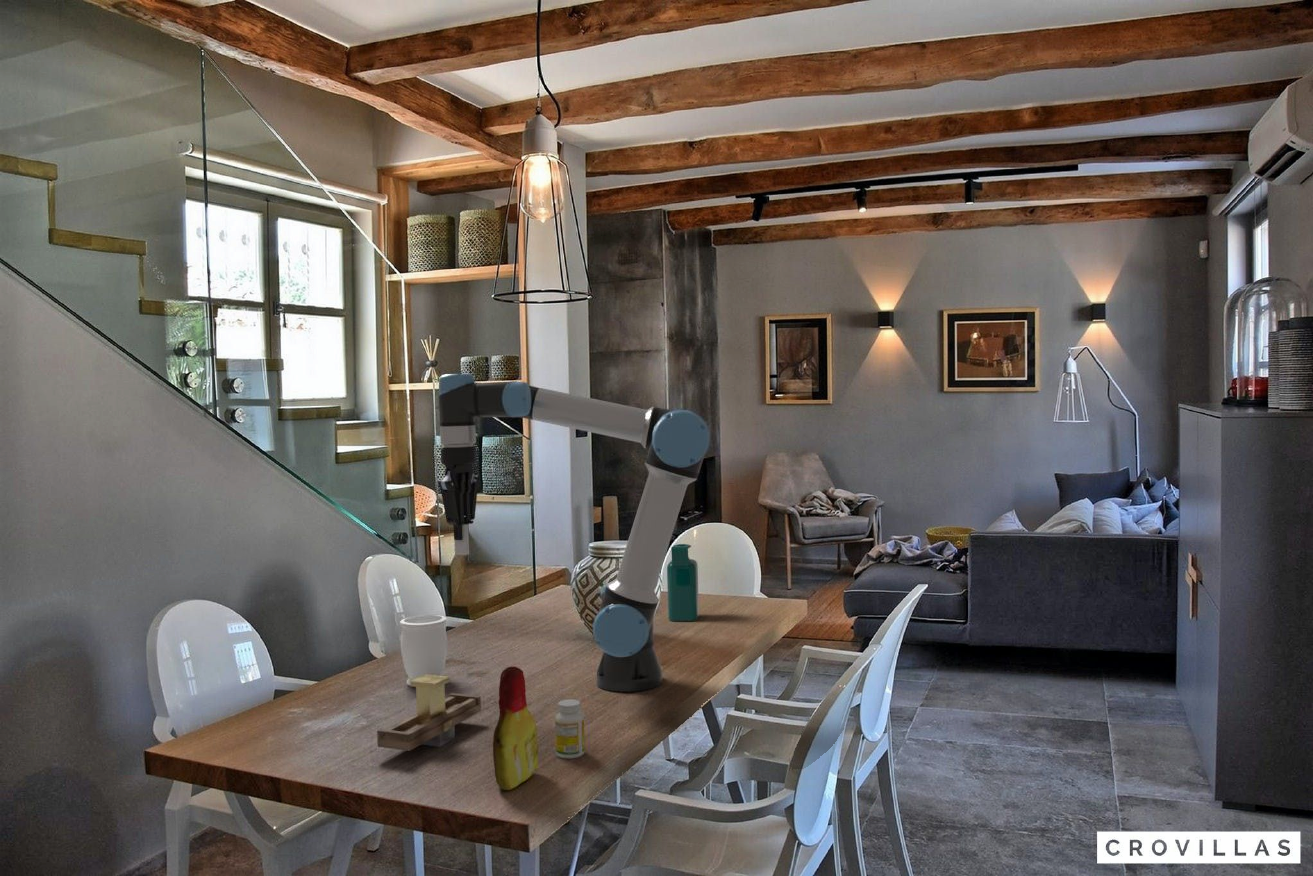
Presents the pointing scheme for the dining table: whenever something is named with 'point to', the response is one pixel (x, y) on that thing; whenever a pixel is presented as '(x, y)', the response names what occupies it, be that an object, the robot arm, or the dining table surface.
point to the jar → (423, 645)
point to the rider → (430, 696)
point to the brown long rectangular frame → (430, 725)
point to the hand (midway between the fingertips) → (462, 554)
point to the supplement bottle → (569, 730)
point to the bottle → (514, 733)
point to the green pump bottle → (682, 585)
